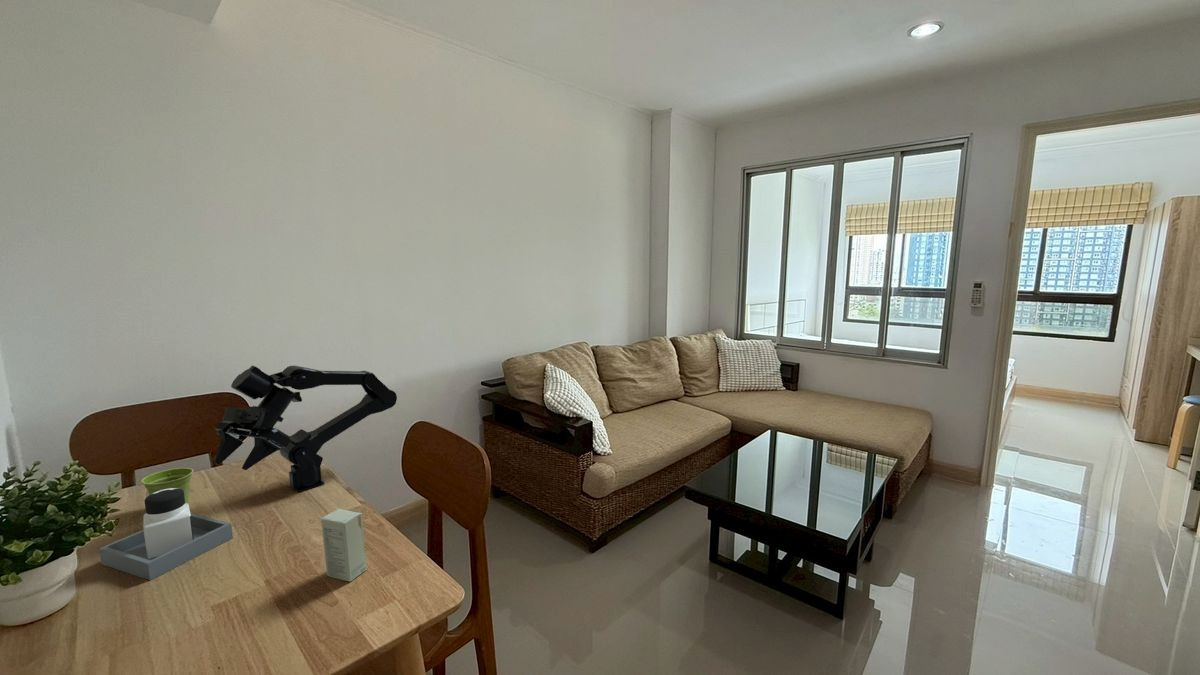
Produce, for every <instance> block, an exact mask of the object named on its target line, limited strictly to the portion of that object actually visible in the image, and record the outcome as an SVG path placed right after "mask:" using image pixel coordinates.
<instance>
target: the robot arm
mask: <svg viewBox="0 0 1200 675" xmlns="http://www.w3.org/2000/svg"><path fill="white" fill-rule="evenodd" d="M275 384H276V385H275ZM278 385H279V386H280V387H279V386H278ZM321 386H361V387H362V389H363V390H364V392H365V393H366V394H364V396H363V397H362V399H361V401H360V402H359V403H357V404H356V405H354V406H351V407H350V408H349V409H347V410H345V411H344V412H342V413H340V414H339V415H337V416H335V417H334V418H332V419H330V420H329V421H327V422H325V423H324V424H322V425H320V426H319V427H317V428H315V429H314V430H310V431H306V430H304V429H299V430H297V431H296V432H295V433H294V434H292V435H288V434H286V433H285V432H284V431H282V430H280V429H278V428H276V427H275V425H276V424H277V423H282V422H283V421H284V417H282V415H283V414H284V413H285V411H286V410H287V408H288V407H289V406H290V404H291V402H292V403H301V402H302V401H303V398H302V396H301V392H300V391H303V390H309V389H314V388H317V387H321ZM230 387H231V388H232V390H233V389H234V390H235V391H237V392H239V393H240V394H242V395H245V396H246V397H248V398H250V399H252V400H257V399H261V401H260V402H259V404H258V405H257V406H255V405H253V406H249V405H248V406H247V407H246V408H245V409H243V408H236V407H235V408H234V407H229V406H227V407H226V408H225V412H224V415H223V417H222V420H221V421H219V422H218V424H217V425H216V427H215V428H214V430H216V434H217V435H219V439H220V442H219V447H218V450H217V453H216V457H215V459H214V464H216V465H218V466H219V465H221V464H222V463H223V462H224V461H225V460H227V459H228V458H229V457H230V456H231V455H233V453H234V452H235V451H236V450H237V449H238V448H239V447H241V446H242V445H243V444H244V443H245V442H243V441H244V440H246V439H247V438H253V440H254V441H253V442H254V446H253V448H252V449H251V451H250V453H249V455H248V456H247V458H246V459H245V460H244V463H243V464H242V466H241V469H242V470H244V471H248V469H250V468H252V467H253V466H255V465H256V464H258V463H260V462H261V461H262V460H264V459H266V458H268V457H269V456H270V455H272V454H274V453H276V452H277V451H278V452H279V453H280V455H281V456H282V458H284V459H286V460H287V461H288V462H290V464H292V465H290V471H288V477H289V486H290V487H291V488H293V489H294V491H295V490H296V492H297V493H300V492H305V491H306V490H310V489H313V488H316V486H317V487H319V486H322V485H325V481H323V480H322V469H321V465H322V462H323V460H324V458H323V456H321V455H319V454H318V453H319V451H320V450H321V448H322V447H323V445H325V444H326V443H327V442H329V441H331V440H332V439H334V438H336V437H337V436H339V435H340V434H342V433H343V432H345V431H346V430H348V429H350V428H351V427H353V426H355V425H356V424H358V423H359V422H361V421H362V420H364V419H366V418H367V417H368V416H371V415H374V414H378V413H381V412H384V411H387V410H389V409H391V408H393V407H394V406H395V405H396V404H397V401H398V400H397V399H398V396H397V394H396V392H395V391H394V390H393V389H390V388H388V387H387V386H386V385H385V383H383V382H382V381H381V380H380V379H379V378H378V377H377V376H376V375H375V374H374V372H371V371H366V370H361V371H359V370H358V371H356V370H321V369H320V370H319V369H314V368H309V367H304V366H298V365H289V366H287V367H286V368H284V369H283V371H280V372H276V373H272V374H267V373H265V372H263V371H262V369H260V368H259V367H257V366H255V365H251V366H250V367H249V368H247V369H245V370H244V371H242V372H241V373H240V374H238V375H237V376H236V377H235V378H234V380H233V381H232V383H231V386H230ZM288 387H289V388H292V389H294V390H297V391H295V392H294V391H292V390H291V389H289V388H288Z"/></svg>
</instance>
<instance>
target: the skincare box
mask: <svg viewBox="0 0 1200 675" xmlns="http://www.w3.org/2000/svg"><path fill="white" fill-rule="evenodd" d="M320 520H321V529H322V530H321V532H322V538H323V540H322V541H323V550H324V558H325V559H324V560H325V568H326V569H325V570H326V576H327V577H330V578H334V579H337V580H341V581H345V582H346V581H347V582H352V581H354V580H355V579H356V578H357V577H359V576H360V575H361V574H363V573H364V572H365V571H366V570H368V564H367V554H366V543H365V533H364V524H363V523H364V521H363V512H361V511H360V512H359V511H355V510H350V509H344V508H340V507H339V508H337V509H335V510H334V511H332V512H330V513H329V514H327V515H325V516H323V517H321V518H320Z"/></svg>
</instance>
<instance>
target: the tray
mask: <svg viewBox="0 0 1200 675" xmlns="http://www.w3.org/2000/svg"><path fill="white" fill-rule="evenodd" d="M190 514H191V521H192V529H193V537H194V540H192V541H190V542H188V543H186V544H184V545H181V546H179V547H177V548H175V549H173V550H171V551H169V552H167V553H165V554H163V555H161V556H159V557H155V558H152V559H148V558H147V551H146V544H145V536H144V529H141V530H139V531H137V532H134V533H132V534H130V535H127V536H125V537H123V538H121V539H118V540H115V541H114V542H111V543H109V544H106V545H104V546H101V547H99V554H100V555H99V556H100V562H101V565H102V564H105V565H107V566H106V567H108V566H110V567H109V568H111V567H113V568H112V569H114V568H115V569H114V570H117V569H118V571H120V570H121V572H123V571H124V572H125V573H127V574H130V575H133V576H135V577H139V578H141V579H145V580H148V581H152V580H154V579H156V578H158V577H160V576H162V575H163V574H165V573H168V572H169V571H171V570H174V569H175V568H177V567H179V566H182V565H183V564H186V563H187V562H189V561H191V560H194V558H197V557H199V556H201V555H202V554H205V553H207V552H209V551H211V550H212V549H215V548H216V547H218V546H221V545H222V544H224V543H226V542H228V541H230V540H232V539H233V538H234V536H233V528H232V527H233V526H232V523H231V522H227V521H223V520H218V519H215V518H212V517H207V516H203V515H200V514H196V513H192V512H190ZM105 565H104V566H105Z"/></svg>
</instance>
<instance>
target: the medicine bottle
mask: <svg viewBox="0 0 1200 675" xmlns="http://www.w3.org/2000/svg"><path fill="white" fill-rule="evenodd" d="M144 508H145V513H144V514H143V515H142V516H143V518H142V520H143V526H142V528H143V529H142V530H144V536H145V544H146V551H147V558H148V559H152V558H155V557H159V556H161V555H163V554H165V553H167V552H169V551H171V550H173V549H175V548H177V547H179V546H181V545H184V544H186V543H188V542H190V541H192V540H194V537H193V529H192V521H191V514H190V513H191V511H190V510H191V509H190V504H189V502H188V503H186V504H185V497H184V491H183V490H182V489H179V488H169V489H164V490H160V491H157V492H155V493H153V494H151V495H149V494H148V495H147V496H146V497H145V499H144Z"/></svg>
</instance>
